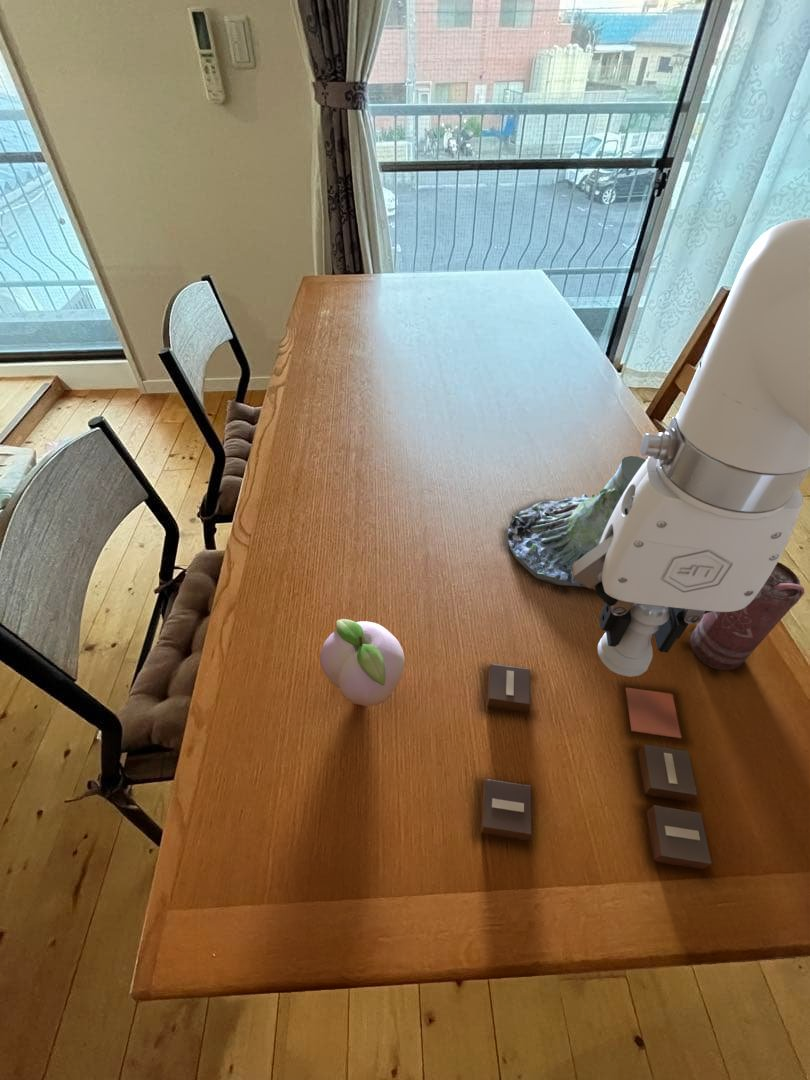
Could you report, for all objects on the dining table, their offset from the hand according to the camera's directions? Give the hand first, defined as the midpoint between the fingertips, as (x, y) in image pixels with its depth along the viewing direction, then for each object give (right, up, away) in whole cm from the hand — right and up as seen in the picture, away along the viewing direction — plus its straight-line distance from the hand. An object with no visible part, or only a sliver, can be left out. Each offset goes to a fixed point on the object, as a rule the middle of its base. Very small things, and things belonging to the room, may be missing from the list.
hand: (635, 633), depth 46 cm
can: (+19, -6, +21) cm, 29 cm away
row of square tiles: (+7, -16, +11) cm, 21 cm away
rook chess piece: (0, -3, +3) cm, 4 cm away
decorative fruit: (-24, -9, +17) cm, 31 cm away
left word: (-8, -14, +12) cm, 21 cm away
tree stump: (+6, +7, +33) cm, 34 cm away
